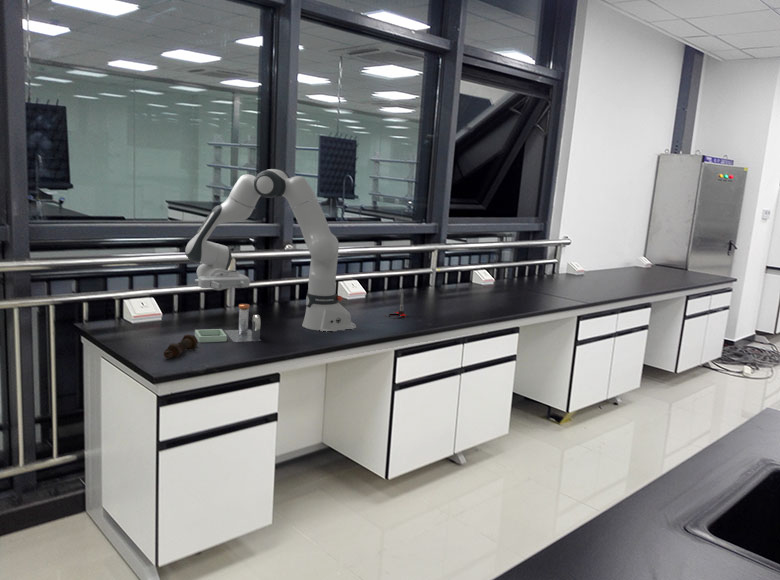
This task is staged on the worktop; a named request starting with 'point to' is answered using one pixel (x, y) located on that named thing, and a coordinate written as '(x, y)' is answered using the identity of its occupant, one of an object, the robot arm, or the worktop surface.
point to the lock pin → (243, 318)
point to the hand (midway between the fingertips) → (231, 285)
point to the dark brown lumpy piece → (181, 346)
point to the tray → (203, 338)
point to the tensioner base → (251, 335)
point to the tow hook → (401, 306)
